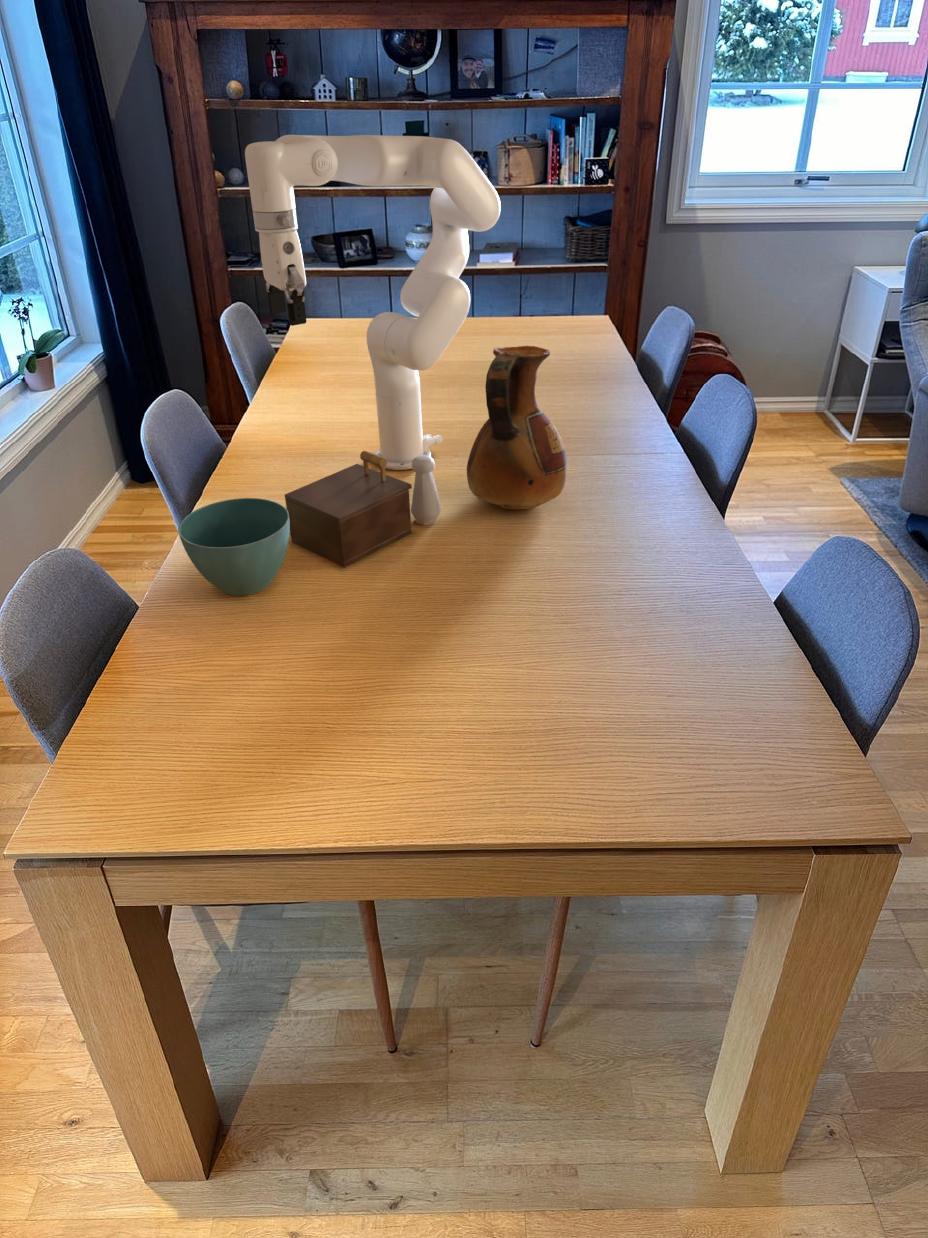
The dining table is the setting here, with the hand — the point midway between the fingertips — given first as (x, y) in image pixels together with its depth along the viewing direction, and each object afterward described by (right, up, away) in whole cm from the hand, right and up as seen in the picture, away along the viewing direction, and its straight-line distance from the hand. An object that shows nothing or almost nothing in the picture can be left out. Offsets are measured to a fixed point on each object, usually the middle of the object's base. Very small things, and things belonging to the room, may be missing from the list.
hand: (288, 318), depth 173 cm
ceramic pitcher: (+44, -32, +14) cm, 56 cm away
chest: (+12, -41, +1) cm, 43 cm away
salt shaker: (+26, -37, +6) cm, 46 cm away
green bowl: (-5, -50, -12) cm, 52 cm away
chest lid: (+12, -33, -3) cm, 35 cm away
